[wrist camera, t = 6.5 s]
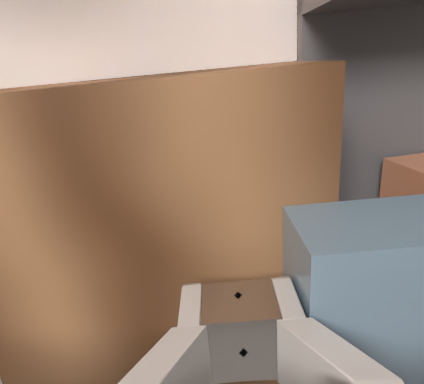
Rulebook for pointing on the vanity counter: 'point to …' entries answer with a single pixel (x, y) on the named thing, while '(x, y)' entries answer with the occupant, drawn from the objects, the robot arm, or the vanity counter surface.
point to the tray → (370, 80)
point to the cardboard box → (149, 203)
